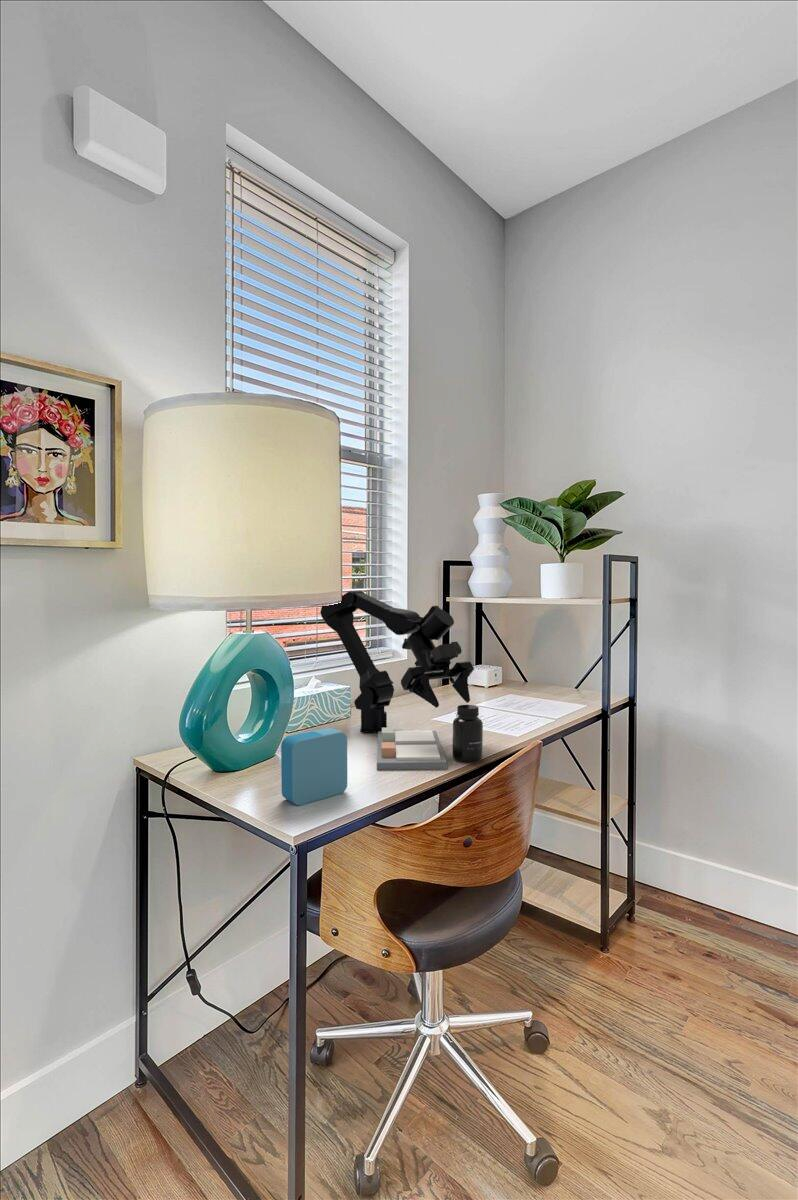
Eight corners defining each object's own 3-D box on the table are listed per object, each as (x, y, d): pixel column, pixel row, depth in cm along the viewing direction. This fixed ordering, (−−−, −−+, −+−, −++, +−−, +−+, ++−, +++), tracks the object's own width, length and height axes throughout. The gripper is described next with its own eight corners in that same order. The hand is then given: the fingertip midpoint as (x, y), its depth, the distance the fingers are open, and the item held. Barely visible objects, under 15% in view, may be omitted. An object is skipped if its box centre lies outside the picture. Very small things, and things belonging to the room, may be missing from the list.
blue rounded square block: (334, 786, 120) (334, 726, 119) (348, 792, 116) (347, 730, 116) (281, 800, 112) (280, 736, 112) (293, 807, 109) (292, 742, 108)
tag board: (376, 769, 130) (376, 753, 129) (378, 737, 156) (378, 723, 155) (446, 769, 130) (446, 753, 130) (436, 736, 156) (436, 723, 156)
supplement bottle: (476, 765, 132) (476, 711, 132) (447, 761, 136) (447, 708, 135) (487, 757, 138) (487, 705, 138) (459, 752, 142) (459, 702, 141)
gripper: (407, 633, 140) (436, 687, 131) (469, 628, 150) (500, 679, 141) (389, 663, 146) (415, 716, 138) (449, 657, 157) (477, 706, 148)
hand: (453, 704), depth 141 cm, fingers open, 9 cm apart
